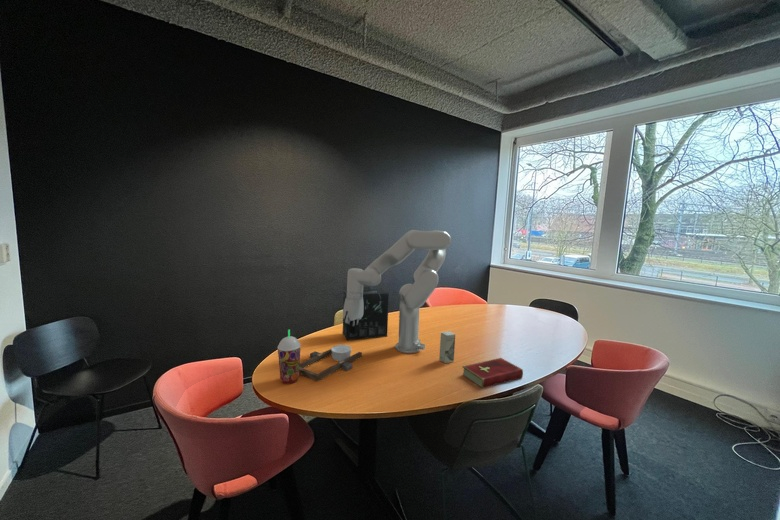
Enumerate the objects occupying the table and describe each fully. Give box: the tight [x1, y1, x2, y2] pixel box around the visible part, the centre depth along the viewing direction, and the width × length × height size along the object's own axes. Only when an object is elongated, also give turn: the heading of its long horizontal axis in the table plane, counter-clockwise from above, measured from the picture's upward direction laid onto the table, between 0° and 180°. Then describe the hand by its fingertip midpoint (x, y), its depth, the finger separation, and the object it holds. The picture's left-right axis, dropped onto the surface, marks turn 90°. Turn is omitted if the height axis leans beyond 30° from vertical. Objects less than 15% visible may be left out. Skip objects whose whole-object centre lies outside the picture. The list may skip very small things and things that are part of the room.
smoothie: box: [277, 329, 302, 384], centre depth 121 cm, size 8×8×20 cm
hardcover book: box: [462, 357, 524, 389], centre depth 130 cm, size 12×21×4 cm, turn 116°
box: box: [438, 330, 456, 364], centre depth 142 cm, size 5×4×13 cm
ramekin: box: [330, 344, 352, 362], centre depth 144 cm, size 9×9×4 cm
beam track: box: [299, 348, 363, 382], centre depth 137 cm, size 22×28×2 cm
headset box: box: [342, 286, 390, 341], centre depth 171 cm, size 22×12×26 cm, turn 111°
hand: (353, 333), depth 151 cm, fingers closed
